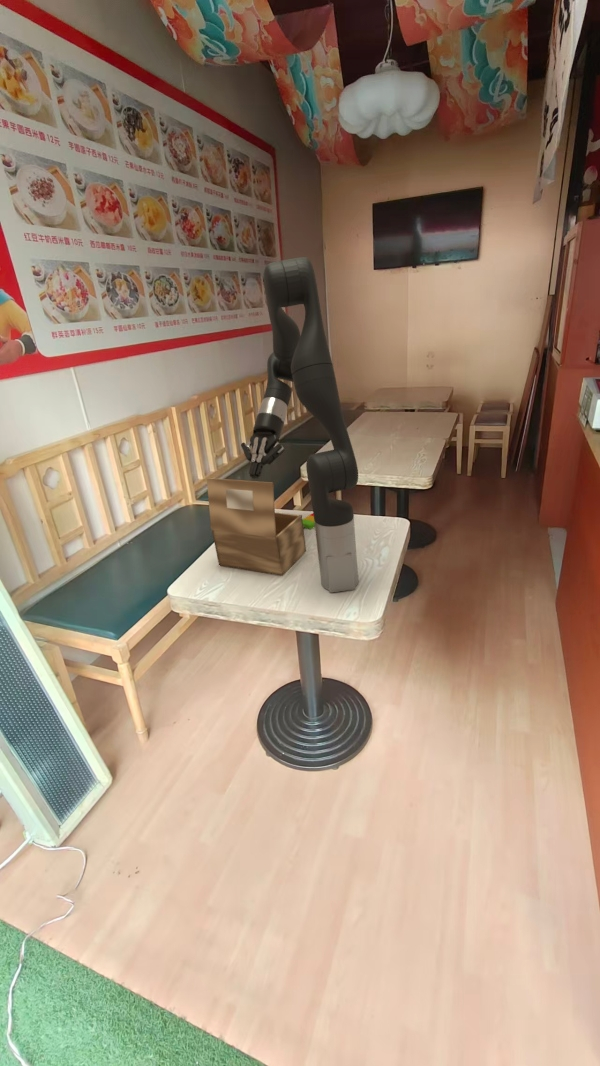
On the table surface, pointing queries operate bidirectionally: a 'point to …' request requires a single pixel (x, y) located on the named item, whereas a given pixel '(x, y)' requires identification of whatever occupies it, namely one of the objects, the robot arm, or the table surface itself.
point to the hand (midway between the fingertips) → (253, 477)
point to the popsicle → (309, 521)
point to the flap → (242, 506)
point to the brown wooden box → (263, 547)
